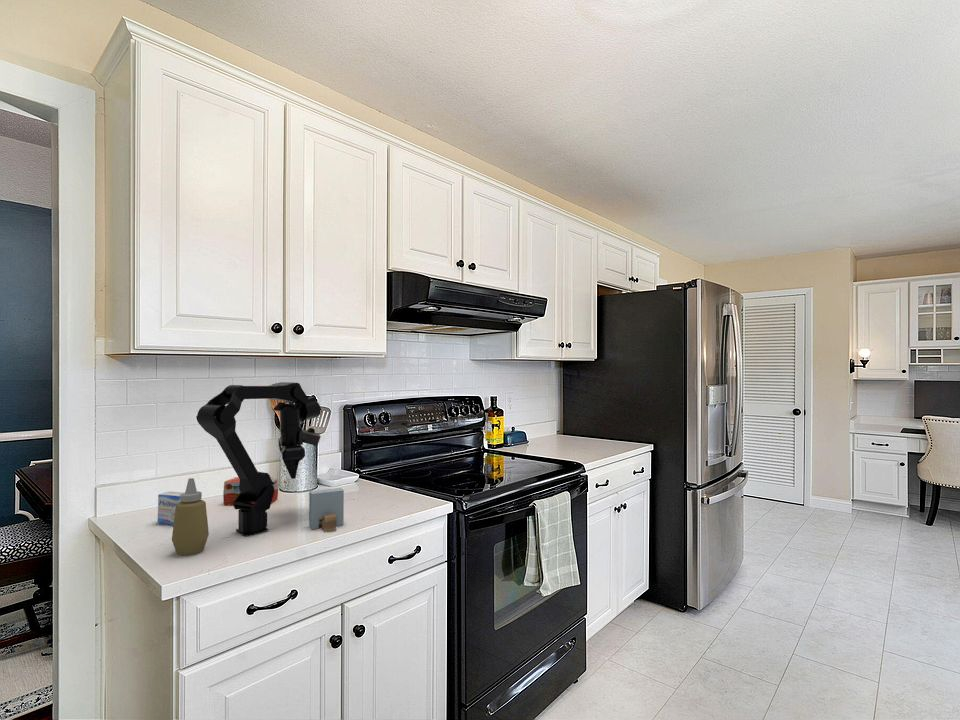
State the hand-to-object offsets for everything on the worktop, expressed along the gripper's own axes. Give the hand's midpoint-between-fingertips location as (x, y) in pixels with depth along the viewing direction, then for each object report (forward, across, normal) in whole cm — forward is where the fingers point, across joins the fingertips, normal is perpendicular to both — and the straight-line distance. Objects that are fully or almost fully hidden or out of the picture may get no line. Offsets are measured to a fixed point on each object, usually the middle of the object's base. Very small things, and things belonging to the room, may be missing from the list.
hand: (292, 474), depth 157 cm
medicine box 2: (+14, +22, +12) cm, 29 cm away
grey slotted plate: (+12, -13, -8) cm, 20 cm away
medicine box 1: (+12, +7, +32) cm, 35 cm away
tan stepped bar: (+12, -13, -8) cm, 20 cm away
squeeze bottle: (+10, -21, +26) cm, 35 cm away
